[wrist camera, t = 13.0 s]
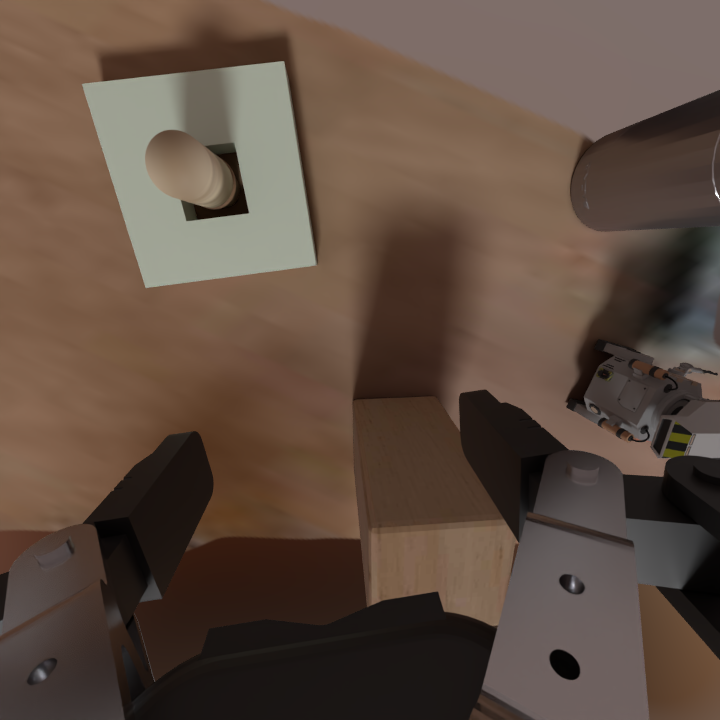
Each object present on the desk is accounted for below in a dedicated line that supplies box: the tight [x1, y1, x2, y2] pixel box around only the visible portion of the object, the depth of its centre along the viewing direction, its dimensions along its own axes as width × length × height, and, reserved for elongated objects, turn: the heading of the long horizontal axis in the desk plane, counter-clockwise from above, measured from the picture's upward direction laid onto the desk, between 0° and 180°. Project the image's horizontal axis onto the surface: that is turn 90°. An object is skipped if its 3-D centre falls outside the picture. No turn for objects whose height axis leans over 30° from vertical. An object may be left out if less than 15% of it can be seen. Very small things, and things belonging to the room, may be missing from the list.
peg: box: [145, 130, 240, 209], centre depth 29 cm, size 4×4×10 cm
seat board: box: [82, 61, 318, 288], centre depth 32 cm, size 16×16×3 cm
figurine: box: [567, 339, 720, 460], centre depth 36 cm, size 9×12×15 cm
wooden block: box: [353, 396, 516, 626], centre depth 34 cm, size 10×10×20 cm
